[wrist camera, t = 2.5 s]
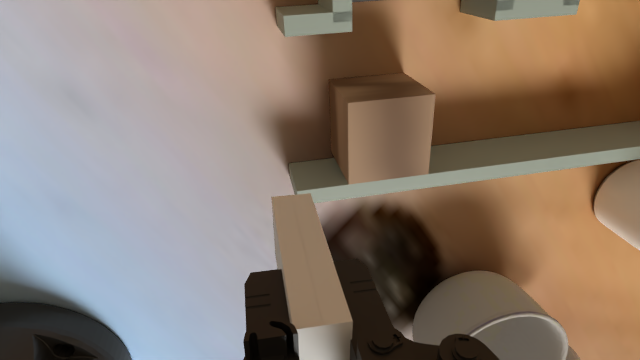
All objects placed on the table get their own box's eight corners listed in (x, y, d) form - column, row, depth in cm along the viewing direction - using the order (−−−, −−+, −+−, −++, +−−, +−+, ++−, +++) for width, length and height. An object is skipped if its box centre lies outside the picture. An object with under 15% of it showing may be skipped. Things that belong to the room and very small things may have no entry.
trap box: (289, 176, 30) (298, 205, 26) (263, -131, 22) (270, -148, 18) (656, 130, 34) (704, 150, 31) (751, -141, 26) (831, -155, 23)
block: (330, 150, 30) (348, 184, 25) (328, 79, 27) (347, 103, 23) (399, 142, 31) (428, 174, 26) (403, 72, 28) (435, 94, 24)
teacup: (377, 328, 39) (410, 410, 32) (445, 235, 35) (499, 304, 28) (488, 358, 44) (537, 434, 37) (557, 279, 40) (625, 347, 33)
